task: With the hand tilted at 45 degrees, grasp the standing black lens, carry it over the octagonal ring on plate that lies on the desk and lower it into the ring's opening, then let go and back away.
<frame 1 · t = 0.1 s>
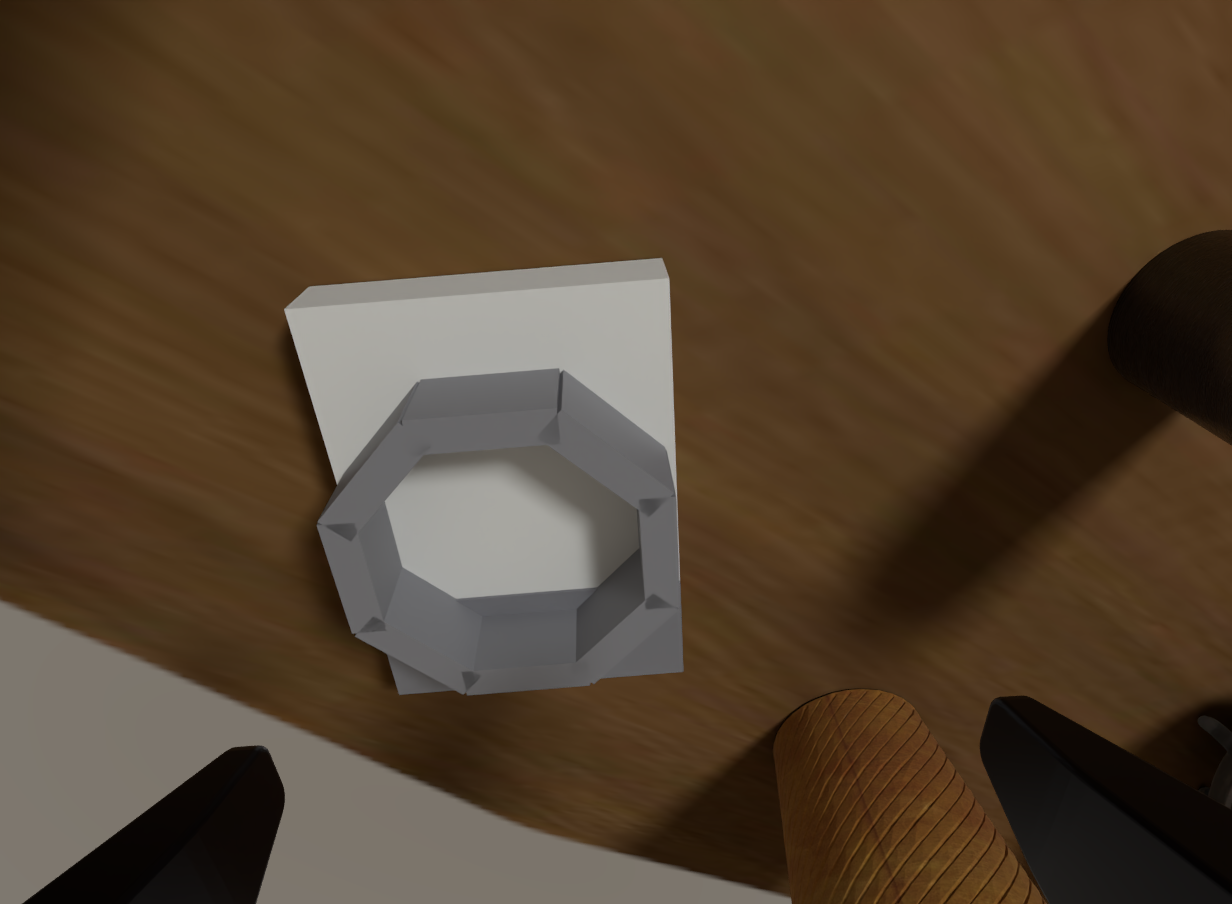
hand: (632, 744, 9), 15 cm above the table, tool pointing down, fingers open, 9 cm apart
disposable coffee cup: (845, 736, 31), on the table
octagonal ring on plate: (518, 482, 24), on the table
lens: (1192, 314, 22), on the table
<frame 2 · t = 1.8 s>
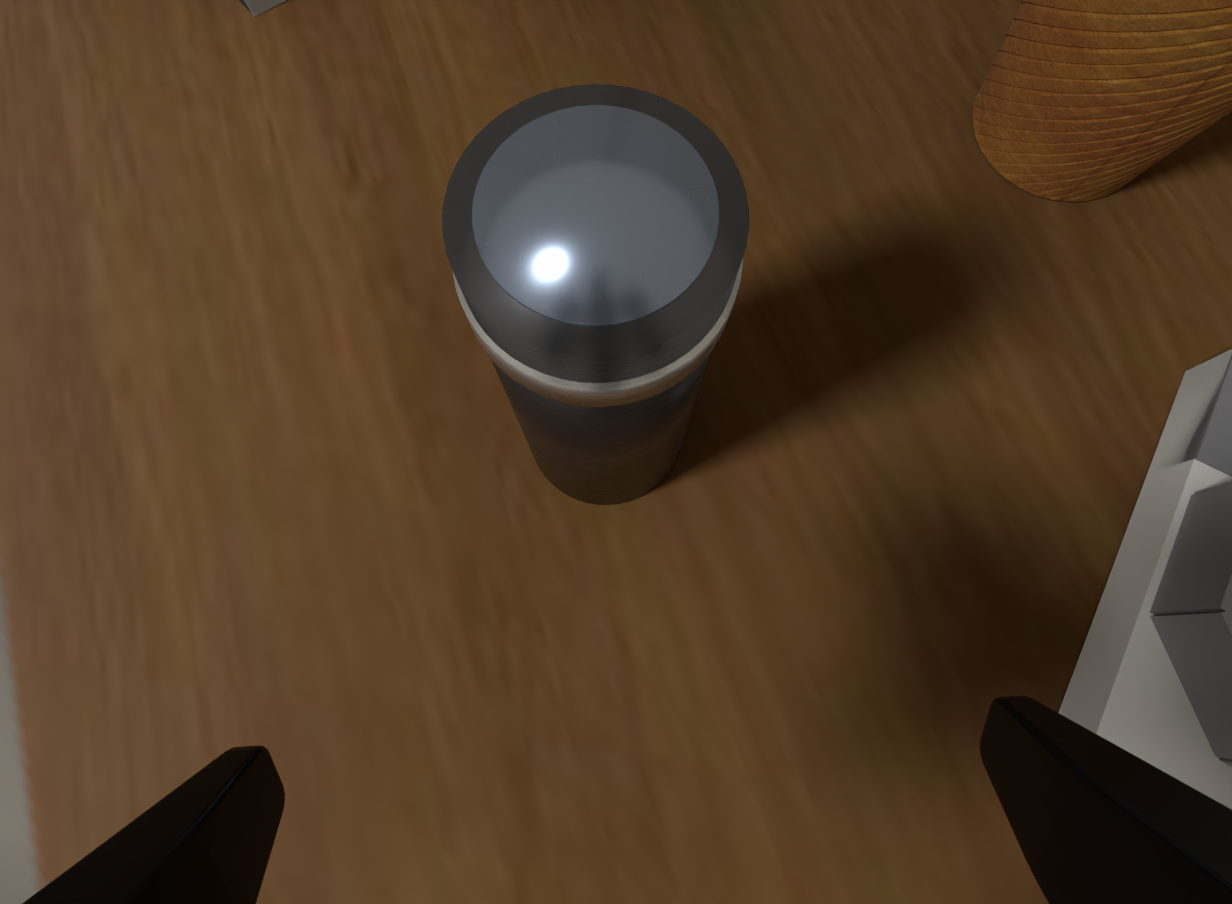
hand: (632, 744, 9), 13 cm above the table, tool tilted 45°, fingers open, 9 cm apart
disposable coffee cup: (1054, 131, 27), on the table
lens: (605, 429, 24), on the table
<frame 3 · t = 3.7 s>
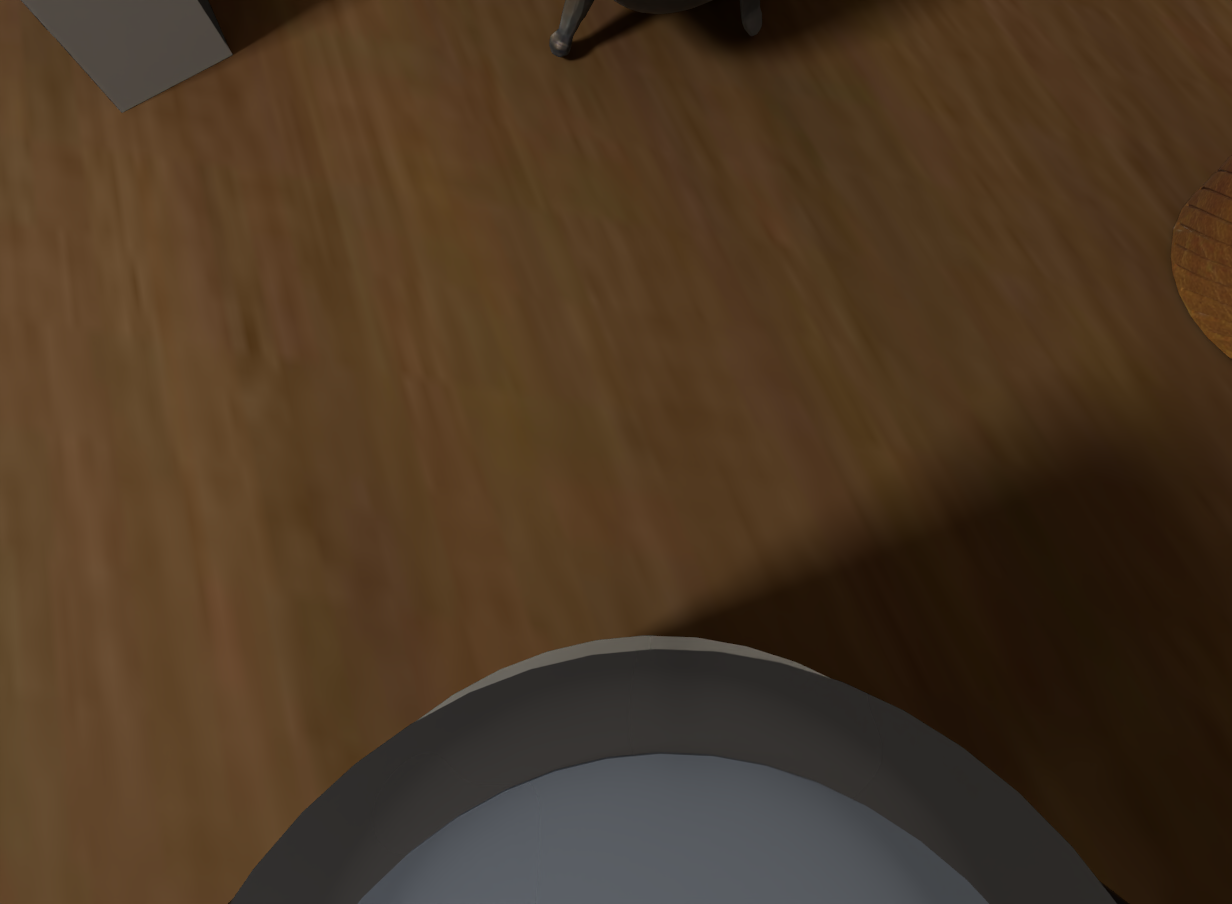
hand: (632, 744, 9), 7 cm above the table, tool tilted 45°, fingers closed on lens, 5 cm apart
padlock: (130, 8, 21), on the table
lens: (632, 780, 15), on the table, touching gripper
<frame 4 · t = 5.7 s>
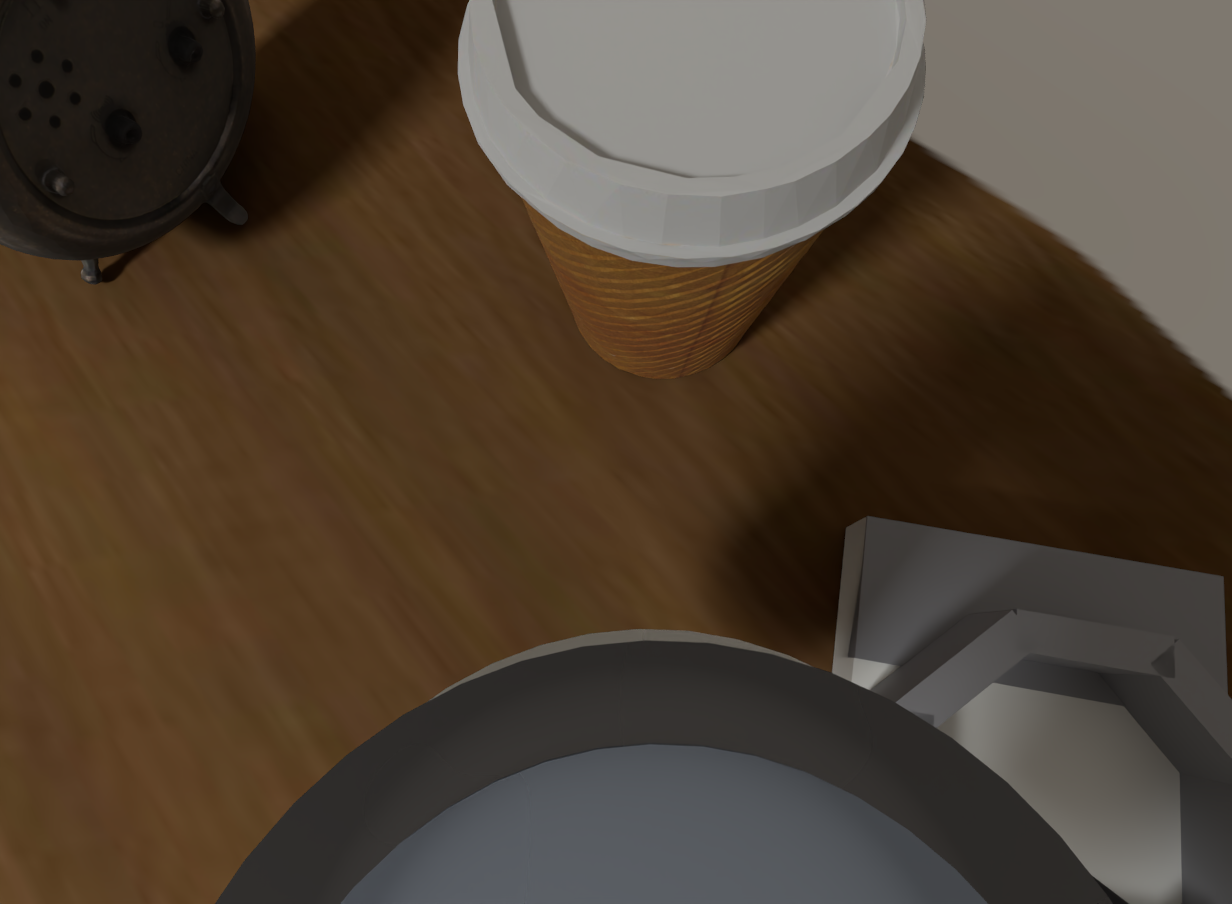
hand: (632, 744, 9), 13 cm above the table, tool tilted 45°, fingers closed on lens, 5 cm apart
alarm clock: (201, 199, 27), on the table
disposable coffee cup: (661, 297, 26), on the table
octagonal ring on plate: (996, 794, 21), on the table
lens: (629, 778, 15), point 7 cm above the table, touching gripper
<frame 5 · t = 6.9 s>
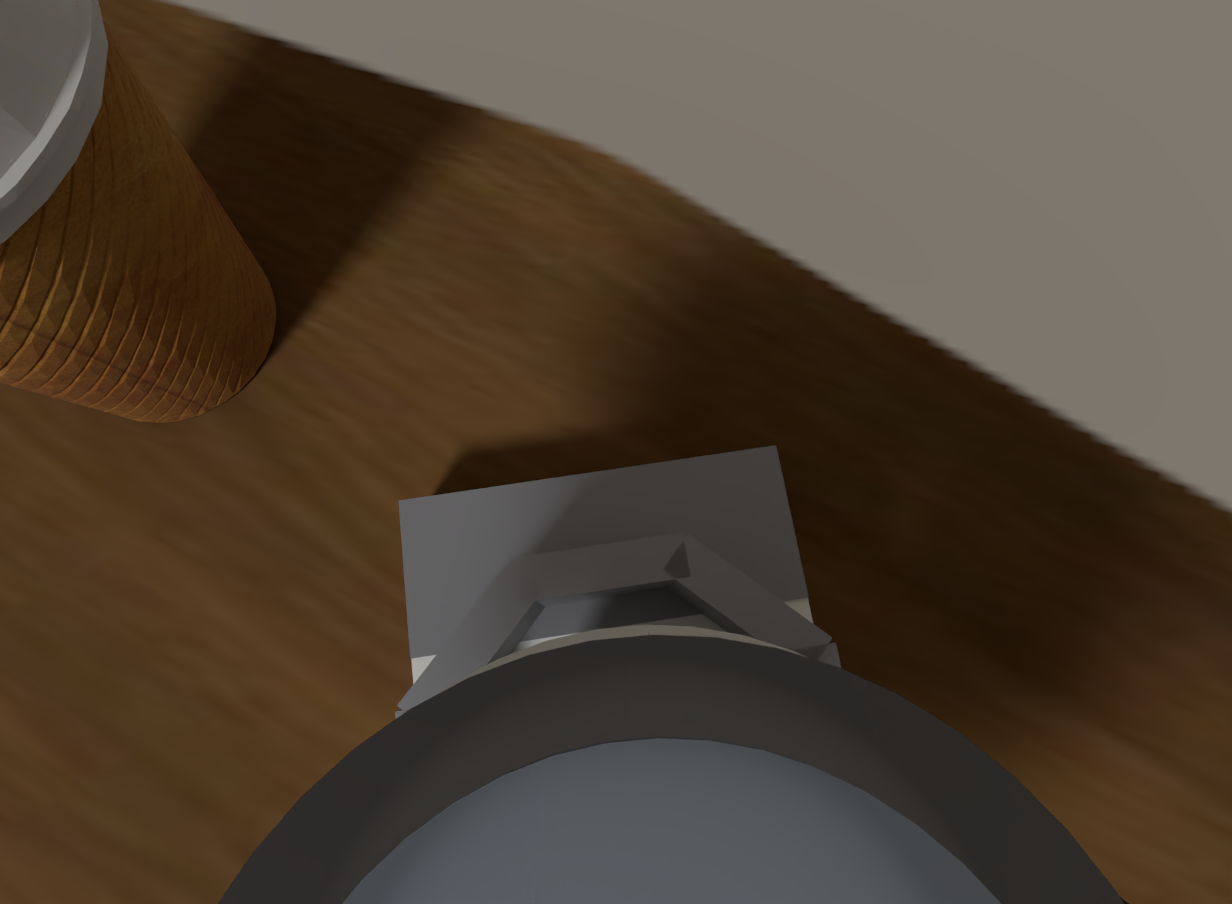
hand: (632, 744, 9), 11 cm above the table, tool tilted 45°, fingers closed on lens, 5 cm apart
disposable coffee cup: (179, 329, 23), on the table
octagonal ring on plate: (628, 744, 20), on the table
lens: (632, 777, 15), point 5 cm above the table, touching gripper
when the fingers open (10 cm above the table, at t = 7.5 s): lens drops 1 cm, resting on octagonal ring on plate.
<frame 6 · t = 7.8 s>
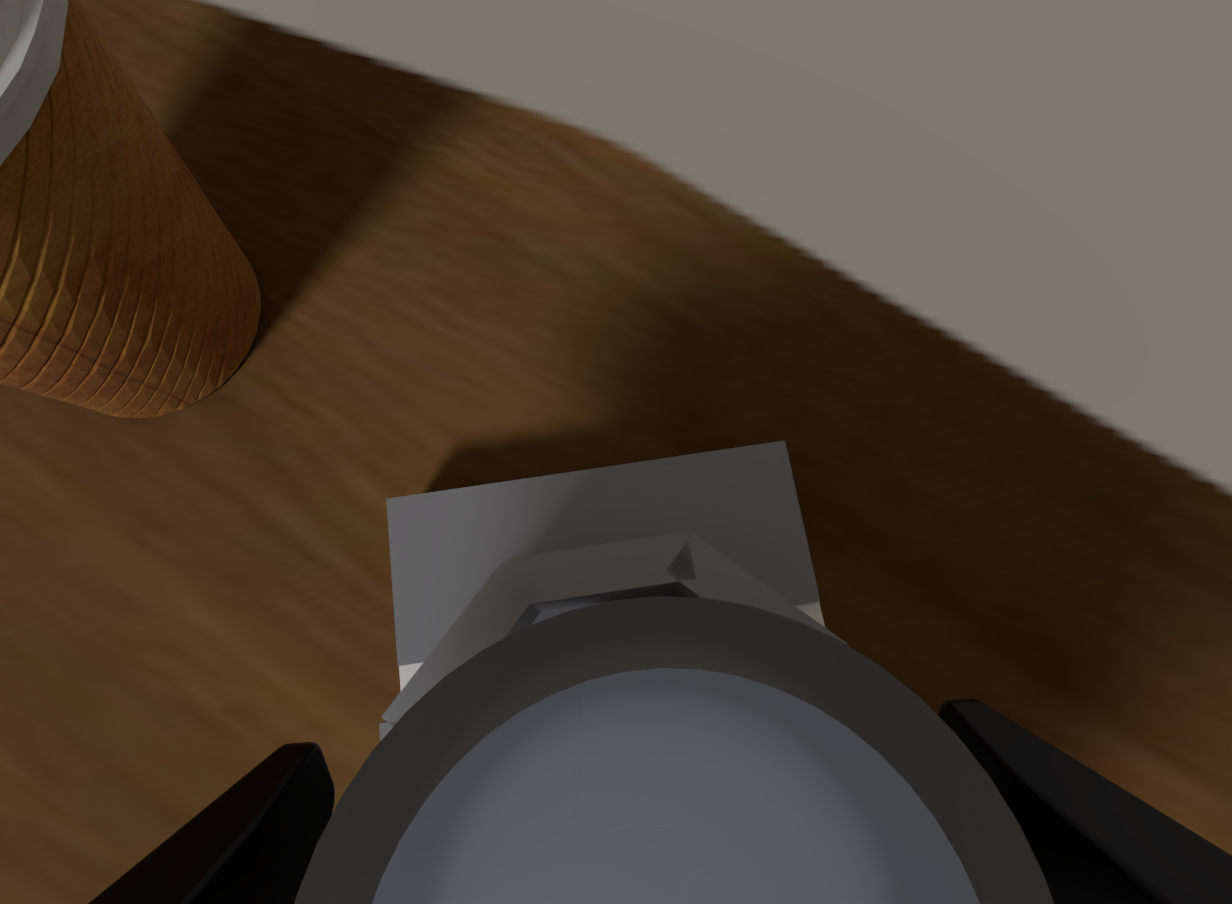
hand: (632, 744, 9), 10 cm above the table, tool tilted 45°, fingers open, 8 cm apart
disposable coffee cup: (159, 321, 22), on the table
octagonal ring on plate: (629, 757, 19), on the table
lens: (630, 775, 16), point 2 cm above the table, touching octagonal ring on plate
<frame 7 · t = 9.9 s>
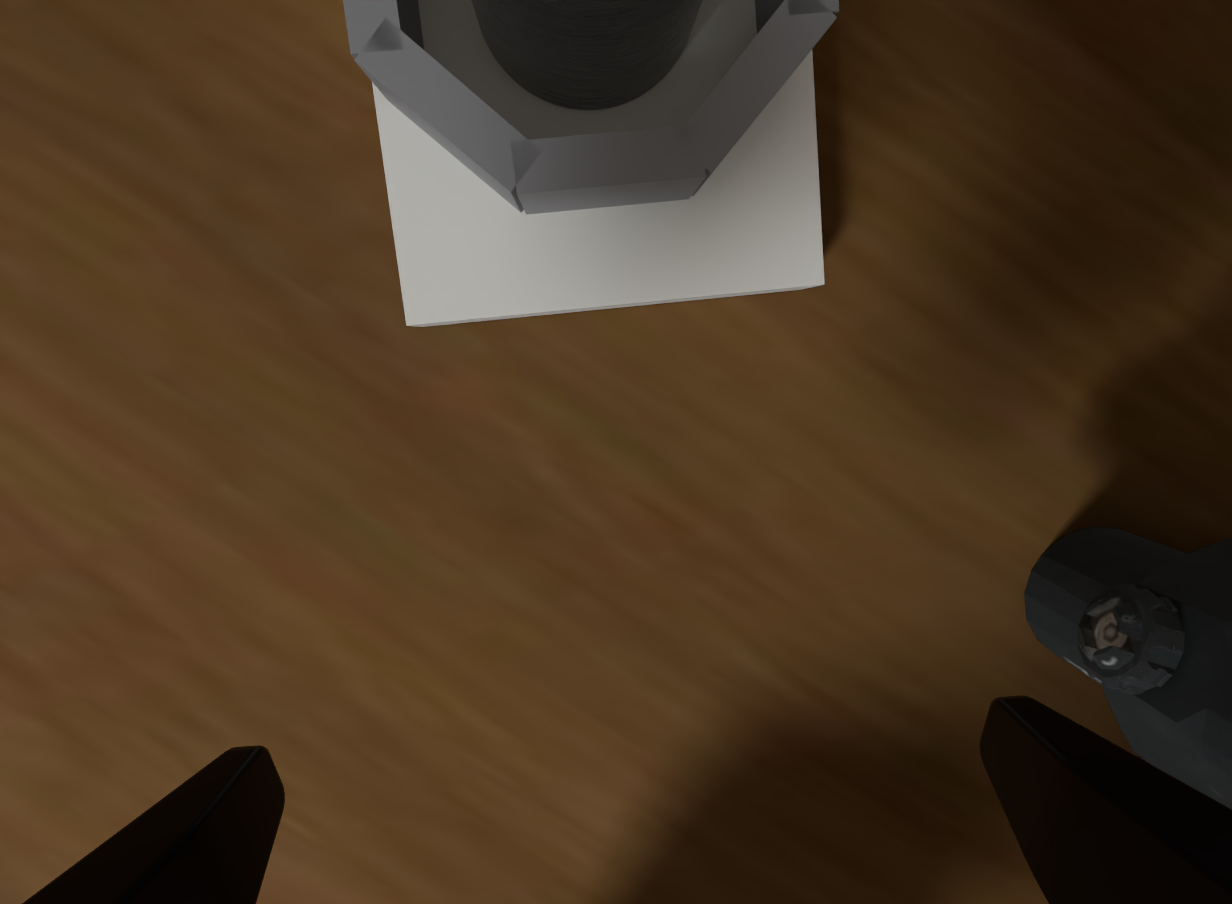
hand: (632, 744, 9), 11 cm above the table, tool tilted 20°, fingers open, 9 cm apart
octagonal ring on plate: (586, 23, 18), on the table
scope: (1119, 606, 22), on the table
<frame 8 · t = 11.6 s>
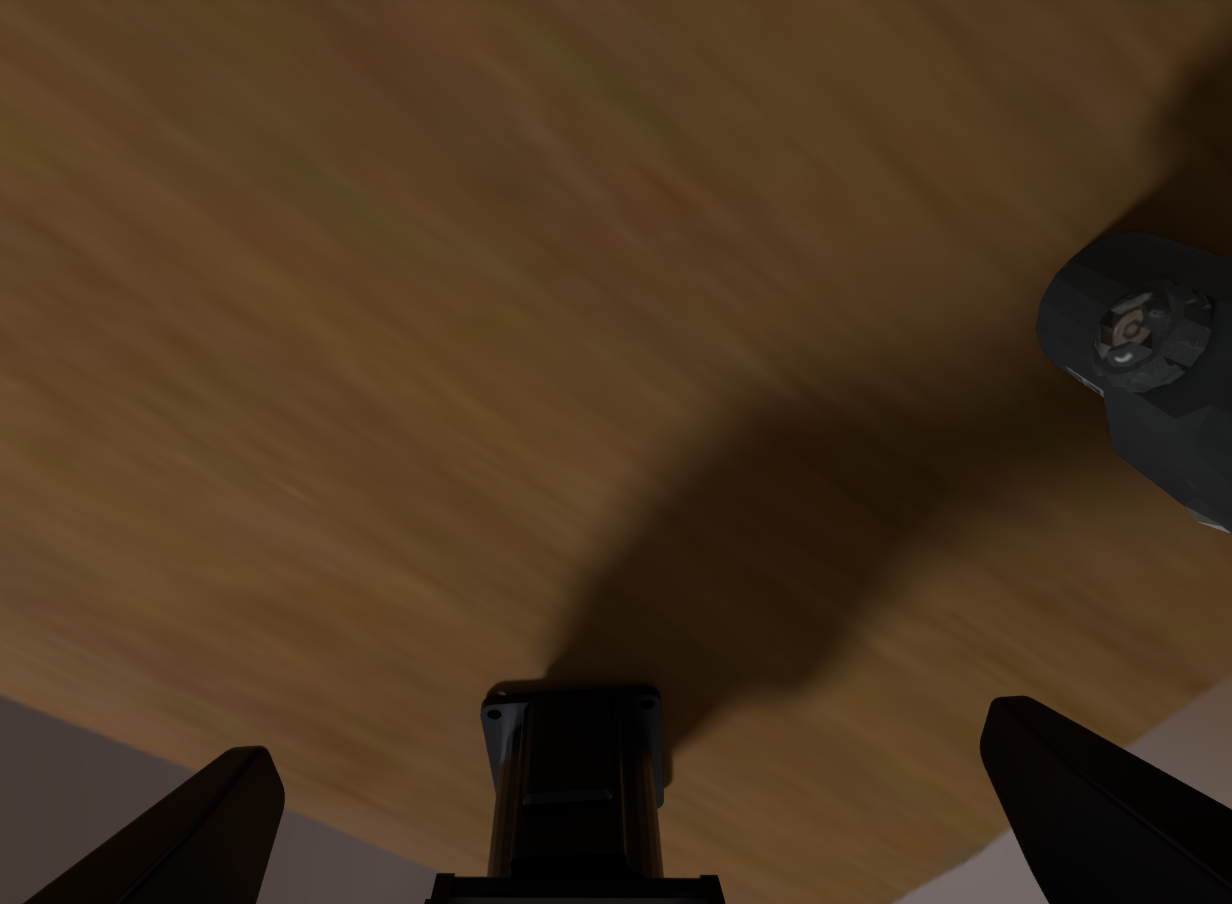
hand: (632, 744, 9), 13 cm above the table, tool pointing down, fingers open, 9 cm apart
scope: (1134, 320, 21), on the table
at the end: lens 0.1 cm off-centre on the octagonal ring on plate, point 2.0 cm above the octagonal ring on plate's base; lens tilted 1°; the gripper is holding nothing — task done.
